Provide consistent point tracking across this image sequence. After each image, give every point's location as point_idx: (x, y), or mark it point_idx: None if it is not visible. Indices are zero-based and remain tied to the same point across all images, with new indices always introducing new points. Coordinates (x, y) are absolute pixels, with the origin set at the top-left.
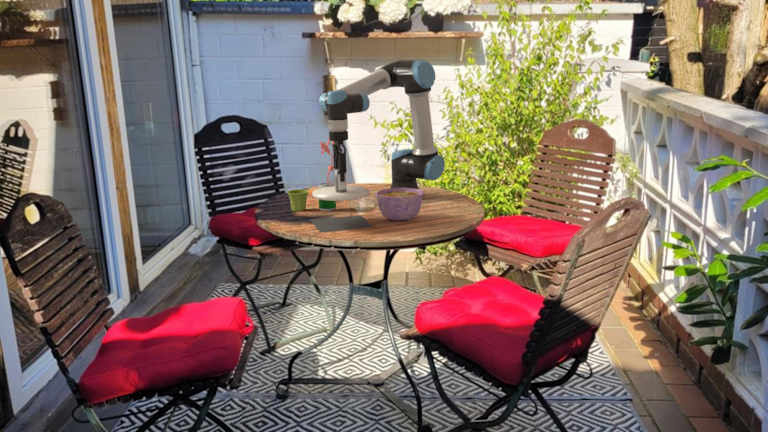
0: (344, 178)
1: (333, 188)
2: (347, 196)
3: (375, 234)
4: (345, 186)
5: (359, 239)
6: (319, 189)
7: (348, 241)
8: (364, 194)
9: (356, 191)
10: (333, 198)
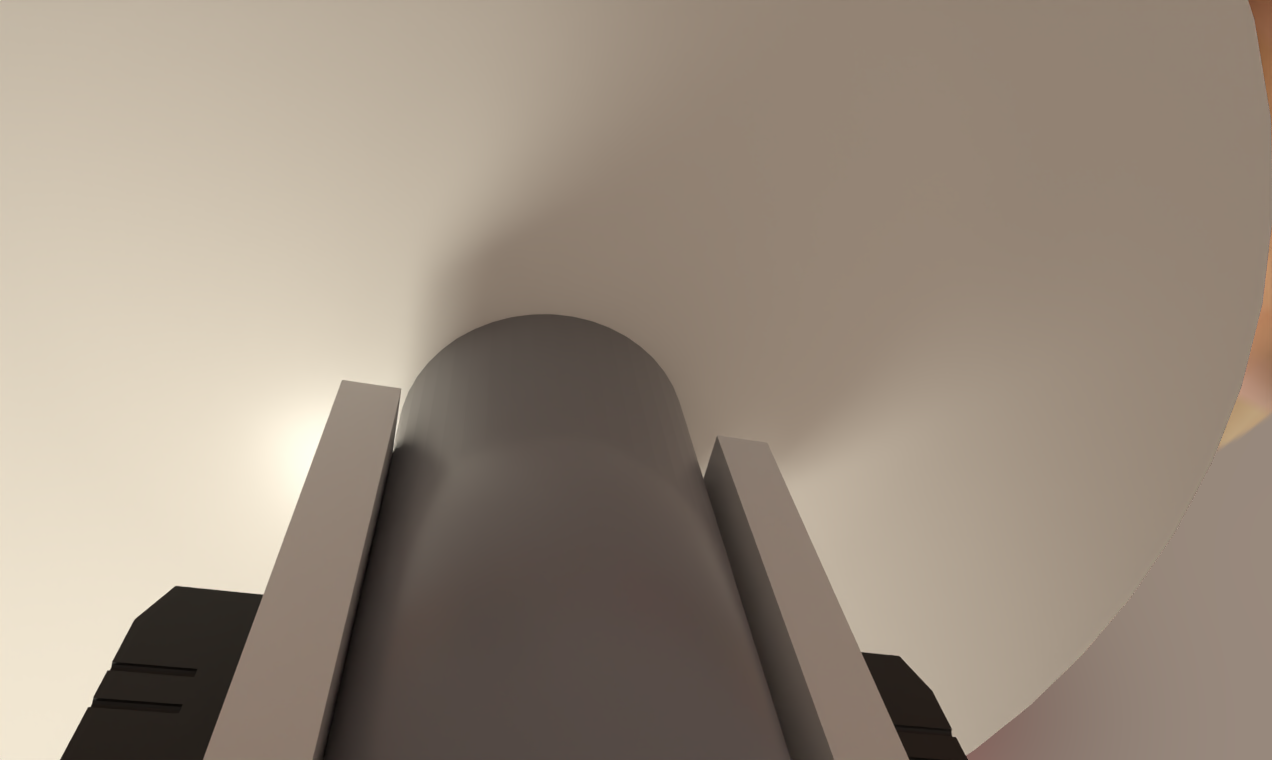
0: (961, 750)
1: (34, 462)
2: (1113, 513)
3: (1263, 48)
4: (783, 495)
5: (1268, 315)
6: (28, 739)
7: (1232, 437)
8: (1255, 77)
9: (809, 104)
10: (984, 727)
